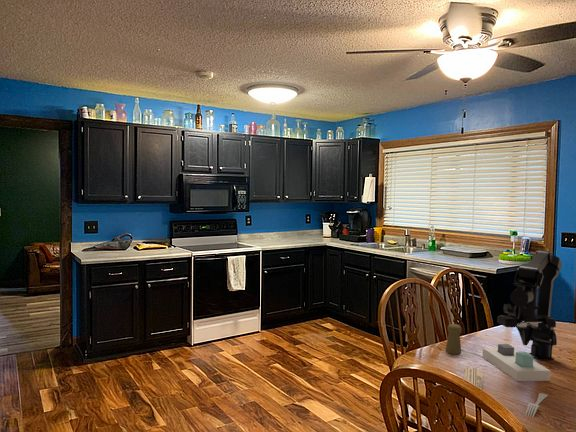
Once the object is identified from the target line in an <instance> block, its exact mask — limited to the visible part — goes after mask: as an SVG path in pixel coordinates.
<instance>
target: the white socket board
mask: <svg viewBox="0 0 576 432" xmlns="http://www.w3.org/2000/svg"><path fill="white" fill-rule="evenodd" d="M516 352H519V350H516V349H515V348H514V356H503V355H502V354H500V353H499V352H498V347H482V358H484V359H485V360H486V361H487V362H489V363H490V364H492V365H494V366H495V367H496V368H497V369H499V370H501V371H502V372H503V373H505V374H506V375H507V376H509V377H510V378H512V379H513V380H515V381H516V382H548V381H549V382H550V380H551V370H550V369H548V368H547V367H545V366H544V365H542V364H540V363H538V362H537V361H535V360H533V367H521V366H519V365H518V364H516V363H515V359H516Z"/></svg>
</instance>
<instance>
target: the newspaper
mask: <svg viewBox="0 0 576 432" xmlns="http://www.w3.org/2000/svg"><path fill="white" fill-rule="evenodd" d="M463 372H464V373H463V380H464V379H466V380H467V381H469V382H471V383H472V384H474V385H476V386H477V387H479V388H481V389H483V390H484V383H483V382H484V381H483V377H484V376H483V370H481V368H477V367H470V366H466V367H464V369H463Z"/></svg>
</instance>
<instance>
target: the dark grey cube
mask: <svg viewBox="0 0 576 432" xmlns="http://www.w3.org/2000/svg"><path fill="white" fill-rule="evenodd" d="M497 348H498V352H499V353H500V354H502V355H503V356H514V349H515V347H513V346H512V345H511V344H508V343H503V344H501V343H498V344H497Z"/></svg>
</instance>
